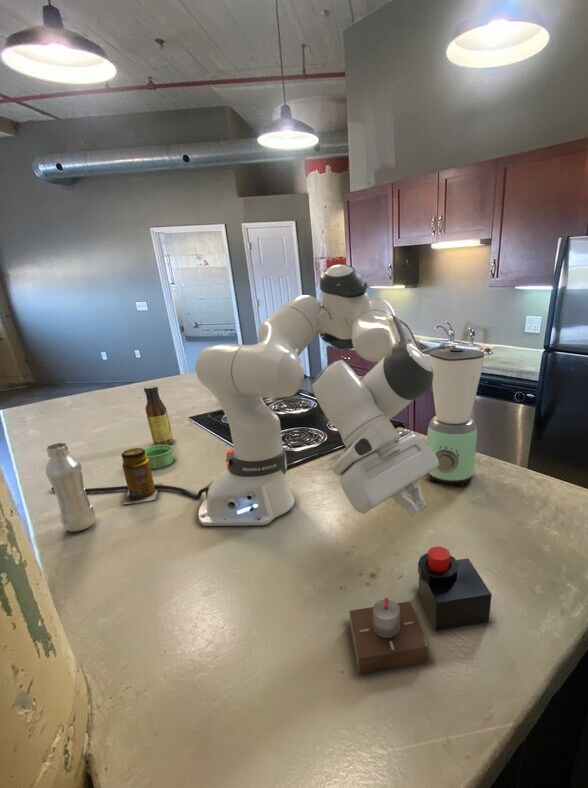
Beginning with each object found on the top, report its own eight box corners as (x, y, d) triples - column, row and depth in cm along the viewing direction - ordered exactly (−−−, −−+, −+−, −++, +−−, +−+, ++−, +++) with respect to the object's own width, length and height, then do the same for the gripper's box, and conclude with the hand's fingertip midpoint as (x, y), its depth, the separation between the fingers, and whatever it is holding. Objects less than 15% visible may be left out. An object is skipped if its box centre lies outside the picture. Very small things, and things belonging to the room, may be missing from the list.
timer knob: (400, 638, 60) (400, 618, 59) (372, 637, 61) (372, 617, 59) (399, 617, 64) (399, 597, 63) (373, 616, 64) (373, 597, 63)
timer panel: (359, 674, 59) (358, 657, 57) (349, 624, 67) (349, 609, 66) (427, 661, 60) (427, 645, 59) (409, 615, 69) (410, 600, 67)
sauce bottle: (177, 442, 142) (166, 385, 135) (160, 448, 137) (148, 390, 130) (166, 438, 146) (154, 383, 139) (149, 444, 141) (136, 387, 134)
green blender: (469, 494, 105) (480, 356, 93) (418, 486, 110) (421, 353, 97) (479, 464, 122) (489, 343, 109) (434, 458, 126) (439, 341, 114)
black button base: (430, 632, 65) (432, 594, 63) (413, 589, 74) (414, 554, 72) (488, 622, 67) (492, 584, 64) (464, 581, 76) (467, 547, 73)
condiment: (158, 485, 113) (149, 444, 109) (155, 500, 106) (145, 457, 101) (128, 490, 111) (118, 448, 107) (123, 505, 103) (111, 461, 99)
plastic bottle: (62, 538, 91) (34, 454, 84) (66, 523, 96) (41, 443, 89) (96, 530, 93) (72, 448, 86) (99, 516, 99) (76, 438, 92)
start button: (431, 574, 67) (432, 561, 66) (424, 560, 71) (425, 547, 70) (452, 571, 68) (453, 558, 67) (444, 557, 71) (445, 545, 70)
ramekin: (135, 467, 124) (132, 453, 123) (160, 455, 132) (157, 442, 130) (158, 471, 121) (155, 458, 119) (181, 459, 129) (179, 446, 127)
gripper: (400, 435, 81) (441, 494, 79) (323, 471, 67) (371, 546, 64) (419, 418, 77) (463, 480, 74) (342, 453, 62) (394, 532, 60)
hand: (420, 511), depth 69 cm, fingers closed
